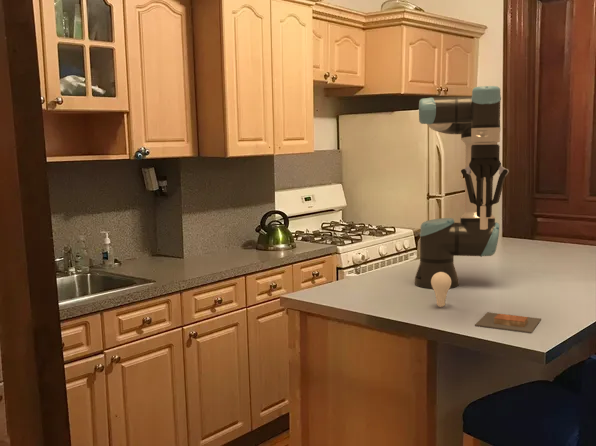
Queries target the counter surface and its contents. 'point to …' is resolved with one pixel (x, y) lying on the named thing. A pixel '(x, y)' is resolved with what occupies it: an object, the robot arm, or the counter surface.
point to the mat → (489, 323)
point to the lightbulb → (441, 287)
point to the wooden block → (511, 320)
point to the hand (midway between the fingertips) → (483, 228)
